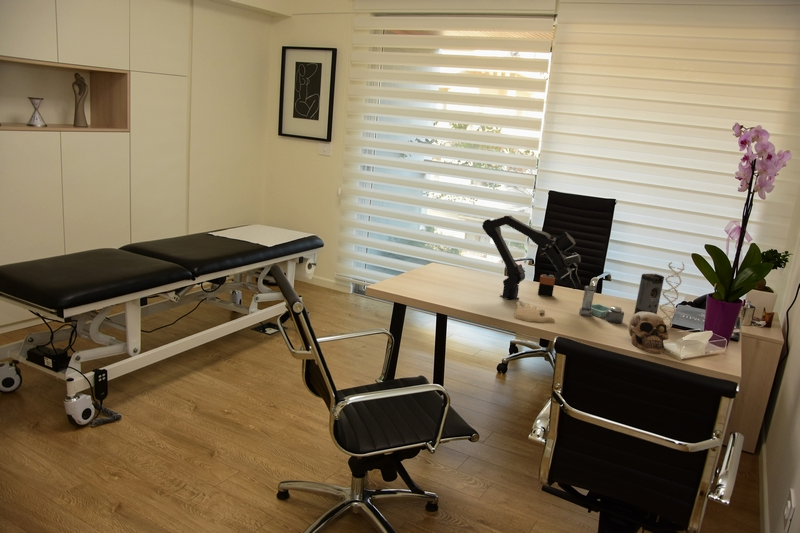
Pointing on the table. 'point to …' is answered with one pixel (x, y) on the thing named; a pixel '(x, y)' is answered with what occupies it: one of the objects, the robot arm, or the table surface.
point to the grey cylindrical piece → (587, 302)
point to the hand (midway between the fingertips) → (577, 286)
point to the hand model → (531, 314)
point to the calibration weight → (614, 315)
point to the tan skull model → (648, 332)
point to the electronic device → (649, 293)
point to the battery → (546, 285)
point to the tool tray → (599, 310)
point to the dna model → (671, 297)
